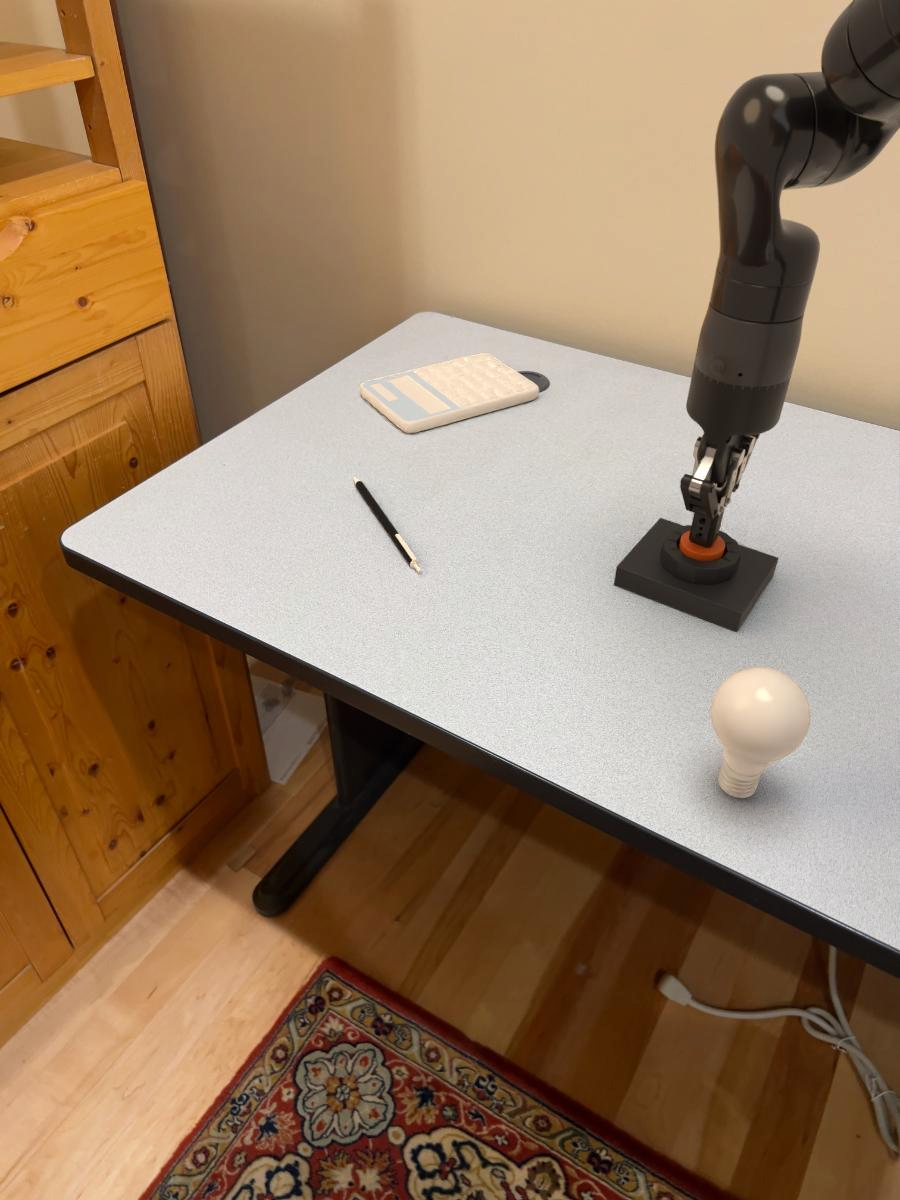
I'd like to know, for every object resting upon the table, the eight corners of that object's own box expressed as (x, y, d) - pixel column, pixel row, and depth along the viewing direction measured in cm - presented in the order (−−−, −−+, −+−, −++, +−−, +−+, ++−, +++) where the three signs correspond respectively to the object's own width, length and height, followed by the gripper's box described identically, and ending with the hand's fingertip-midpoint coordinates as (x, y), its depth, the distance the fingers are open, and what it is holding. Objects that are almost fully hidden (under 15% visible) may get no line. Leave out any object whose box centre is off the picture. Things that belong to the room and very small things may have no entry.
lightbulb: (791, 778, 65) (833, 670, 58) (765, 839, 61) (807, 730, 54) (708, 743, 68) (738, 635, 61) (677, 799, 63) (707, 690, 57)
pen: (416, 577, 84) (415, 567, 83) (350, 481, 98) (349, 472, 97) (424, 574, 84) (424, 565, 84) (357, 479, 98) (357, 470, 97)
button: (727, 556, 83) (731, 538, 81) (711, 577, 80) (715, 559, 79) (686, 542, 84) (690, 524, 83) (670, 563, 82) (673, 544, 80)
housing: (773, 576, 84) (783, 541, 82) (736, 632, 78) (746, 597, 75) (656, 535, 89) (663, 502, 87) (613, 585, 83) (618, 550, 80)
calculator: (542, 399, 113) (543, 385, 112) (406, 437, 105) (405, 422, 104) (485, 361, 122) (486, 348, 121) (356, 394, 114) (355, 380, 113)
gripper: (762, 406, 64) (715, 592, 75) (815, 346, 73) (766, 521, 84) (665, 380, 67) (634, 562, 78) (727, 325, 76) (691, 497, 87)
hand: (702, 541), depth 81 cm, fingers closed
